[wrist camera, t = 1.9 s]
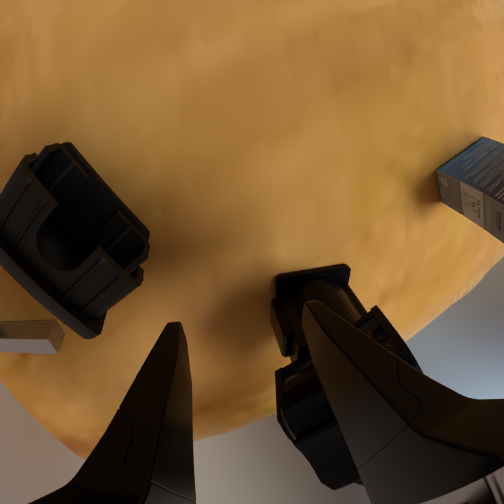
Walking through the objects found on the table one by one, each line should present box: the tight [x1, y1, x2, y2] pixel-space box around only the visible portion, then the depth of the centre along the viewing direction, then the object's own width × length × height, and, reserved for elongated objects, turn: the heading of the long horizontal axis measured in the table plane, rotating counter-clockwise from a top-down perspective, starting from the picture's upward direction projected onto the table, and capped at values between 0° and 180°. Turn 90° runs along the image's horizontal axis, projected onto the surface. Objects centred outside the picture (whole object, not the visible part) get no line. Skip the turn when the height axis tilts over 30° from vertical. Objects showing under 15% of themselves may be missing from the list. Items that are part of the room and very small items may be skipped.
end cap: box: [0, 142, 150, 339], centre depth 14 cm, size 10×7×7 cm
